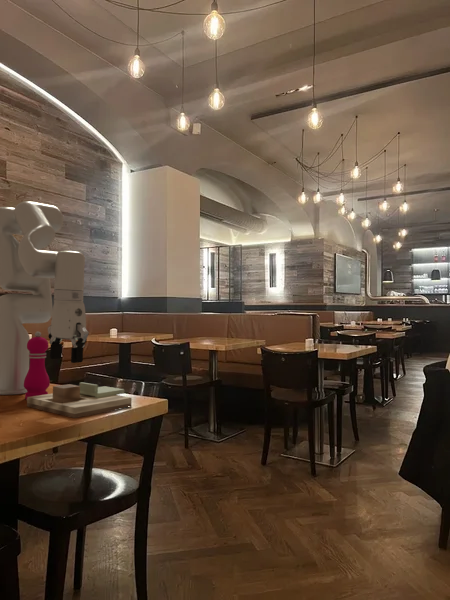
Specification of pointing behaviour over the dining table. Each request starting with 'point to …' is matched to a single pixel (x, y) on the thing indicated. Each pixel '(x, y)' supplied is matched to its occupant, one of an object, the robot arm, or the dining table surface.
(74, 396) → the walnut cube
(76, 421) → the dining table surface
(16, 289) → the robot arm
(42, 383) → the pepper mill
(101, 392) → the lid
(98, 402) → the board
